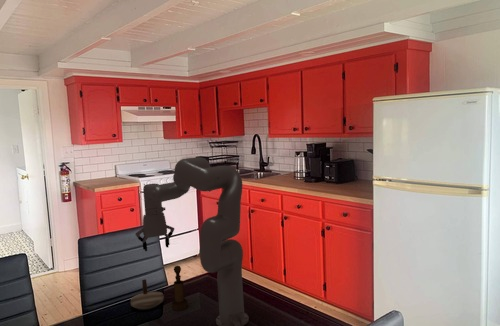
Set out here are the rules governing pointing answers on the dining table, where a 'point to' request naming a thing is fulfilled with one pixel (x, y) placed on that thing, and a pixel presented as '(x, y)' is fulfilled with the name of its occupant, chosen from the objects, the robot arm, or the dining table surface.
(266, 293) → the dining table surface
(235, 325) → the robot arm
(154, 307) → the turntable base
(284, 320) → the dining table surface
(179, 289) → the wooden pepper mill
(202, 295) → the dining table surface
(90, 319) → the dining table surface
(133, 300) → the disc
